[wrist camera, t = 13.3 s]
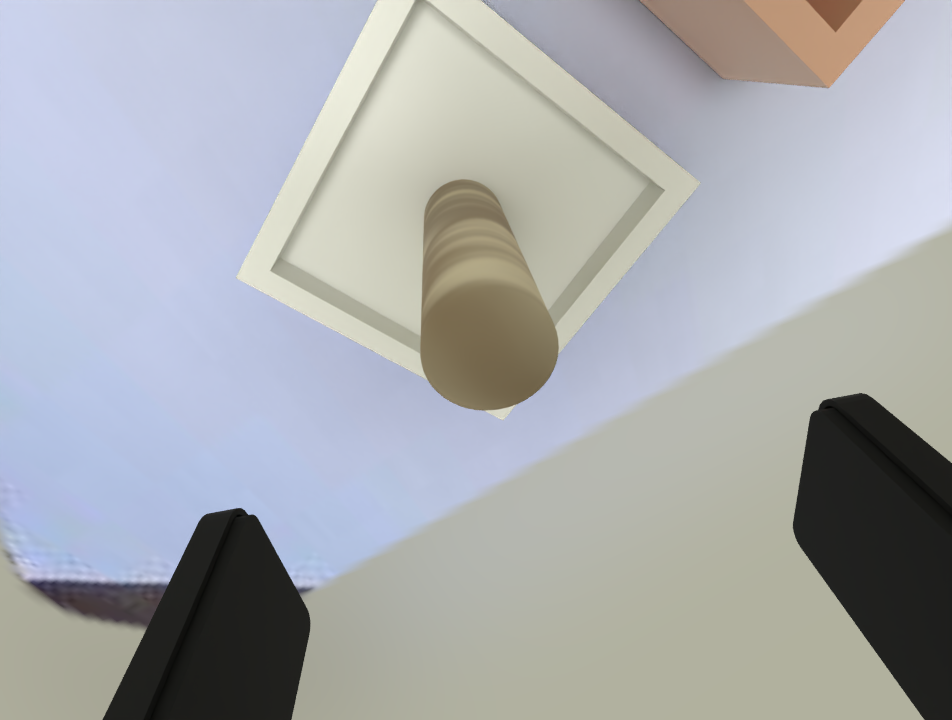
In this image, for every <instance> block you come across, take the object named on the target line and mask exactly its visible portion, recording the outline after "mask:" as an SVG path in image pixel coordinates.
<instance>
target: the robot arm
mask: <svg viewBox="0 0 952 720" xmlns="http://www.w3.org/2000/svg"><path fill="white" fill-rule="evenodd" d="M793 530H794V534H795V537H796V539H797V542H798V544H799V545H800V547H801V548H802V550H803V551H804V553H805V554H806V555H807V556H808V558H809V560H810V561H811V562H812V563H813V565H814V567H815V568H816V569H817V571H818V572H819V574H820V575H821V576H822V578H823V579H824V580H825V582H826V583H827V585H828V586H829V587H830V589H831V590H832V592H833V593H834V594H835V596H836V597H837V599H838V600H839V601H840V603H841V604H842V605H843V607H844V608H845V610H846V611H847V613H848V614H849V615H850V617H851V618H852V619H853V621H854V622H855V624H856V625H857V626H858V628H859V629H860V631H861V632H862V633H863V635H864V636H865V638H866V639H867V640H868V642H869V643H870V645H871V646H872V647H873V649H874V650H875V652H876V653H877V654H878V656H879V657H880V658H881V660H882V661H883V663H884V664H885V665H886V667H887V668H888V670H889V671H890V672H891V674H892V675H893V677H894V678H895V679H896V681H897V682H898V683H899V685H900V686H901V688H902V689H903V690H904V692H905V693H906V695H907V696H908V697H909V699H910V700H911V702H912V703H913V704H914V706H915V707H916V708H917V710H918V711H919V713H920V714H921V716H922V717H923V718H924V719H925V720H952V463H951V462H950V461H948V460H947V459H946V458H945V457H943V456H942V455H941V454H940V453H939V452H937V451H936V450H935V449H934V448H932V447H931V446H930V445H929V444H928V443H926V442H925V441H924V440H923V439H922V438H920V437H919V436H918V435H917V434H916V433H914V432H913V431H912V430H911V429H910V428H908V427H907V426H906V425H904V424H903V423H902V422H901V421H900V420H899V419H897V418H896V417H895V416H893V414H891V413H890V412H889V411H888V410H886V409H885V408H884V407H883V406H882V405H880V404H879V403H878V402H877V401H876V400H874V399H873V398H872V397H870V396H868V395H867V394H862V393H859V394H854V395H848V396H843V397H838V398H832V399H827V400H824V401H823V402H822V403H821V404H820V406H819V409H818V410H817V411H814V412H813V413H812V414H811V417H810V421H809V427H808V434H807V440H806V447H805V452H804V458H803V465H802V471H801V478H800V483H799V490H798V496H797V502H796V509H795V514H794V521H793ZM309 633H310V617H309V613H308V610H307V608H306V606H305V604H304V602H303V600H302V598H301V597H300V595H299V593H298V591H297V589H296V587H295V586H294V584H293V582H292V580H291V578H290V577H289V575H288V573H287V571H286V569H285V567H284V566H283V564H282V562H281V560H280V558H279V556H278V555H277V553H276V551H275V549H274V547H273V545H272V544H271V542H270V540H269V538H268V536H267V534H266V533H265V531H264V529H263V527H262V525H261V523H260V522H259V520H258V518H257V517H256V516H255V515H248V514H247V513H246V512H245V510H243V509H241V508H236V509H231V510H226V511H220V512H215V513H209V514H206V515H204V516H203V517H202V518H201V520H200V521H199V523H198V525H197V527H196V529H195V531H194V533H193V535H192V537H191V539H190V541H189V543H188V545H187V548H186V550H185V552H184V554H183V556H182V558H181V560H180V562H179V564H178V566H177V568H176V570H175V572H174V574H173V576H172V578H171V580H170V582H169V585H168V587H167V589H166V591H165V593H164V595H163V597H162V599H161V601H160V603H159V605H158V607H157V609H156V611H155V613H154V615H153V617H152V619H151V621H150V624H149V626H148V628H147V630H146V632H145V634H144V636H143V638H142V640H141V642H140V644H139V646H138V648H137V650H136V652H135V654H134V657H133V658H132V661H131V663H130V665H129V667H128V669H127V671H126V673H125V675H124V677H123V679H122V681H121V683H120V685H119V687H118V689H117V691H116V694H115V695H114V698H113V700H112V702H111V704H110V706H109V708H108V710H107V712H106V714H105V716H104V718H103V720H291V719H292V714H293V709H294V705H295V700H296V694H297V690H298V685H299V680H300V676H301V671H302V666H303V661H304V657H305V652H306V647H307V643H308V638H309Z"/></svg>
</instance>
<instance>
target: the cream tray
mask: <svg viewBox="0 0 952 720" xmlns="http://www.w3.org/2000/svg"><path fill="white" fill-rule="evenodd" d="M461 179H467V180H473V181H476V182H479V183H481V184H483V185H485V186H486V187H487V188H489V189H490V190H491V191H492V192H493V193H494V195H495V196H496V197H497V199H498V201H499V203H500V205H501V207H502V210H503V212H504V214H505V216H506V219H507V221H508V223H509V225H510V227H511V230H512V232H513V234H514V236H515V239H516V241H517V243H518V245H519V248H520V250H521V252H522V254H523V256H524V259H525V261H526V263H527V265H528V268H529V270H530V272H531V274H532V276H533V279H534V281H535V283H536V285H537V288H538V290H539V292H540V294H541V296H542V299H543V301H544V303H545V305H546V308H547V310H548V312H549V314H550V317H551V319H552V321H553V323H554V326H555V328H556V331H557V335H558V343H559V350H558V354H559V353H560V352H561V350H562V349H563V348H564V347H565V346H566V344H567V343H568V342H569V341H570V340H571V338H572V337H573V336H574V335H575V334H576V332H577V331H578V330H579V329H580V328H581V326H582V325H583V324H584V323H585V322H586V320H587V319H588V318H589V317H590V316H591V314H592V313H593V312H594V311H595V310H596V308H597V307H598V306H599V305H600V304H601V302H602V301H603V300H604V299H605V297H606V296H607V295H608V294H609V293H610V291H611V290H612V289H613V288H614V287H615V285H616V284H617V283H618V282H619V281H620V279H621V278H622V277H623V276H624V275H625V273H626V272H627V271H628V270H629V269H630V267H631V266H632V265H633V264H634V263H635V261H636V260H637V259H638V258H639V257H640V255H641V254H642V253H643V252H644V251H645V249H646V248H647V247H648V246H649V245H650V243H651V242H652V241H653V240H654V239H655V237H656V236H657V235H658V234H659V233H660V231H661V230H662V229H663V228H664V227H665V225H666V224H667V223H668V222H669V221H670V219H671V218H672V217H673V216H674V215H675V213H676V212H677V211H678V210H679V209H680V207H681V206H682V205H683V204H684V203H685V201H686V200H687V199H688V198H689V197H690V195H691V194H692V193H693V192H694V191H695V189H696V188H697V187H698V186H699V185H700V182H699V181H698V180H696V179H695V178H694V177H693V176H692V175H690V174H689V173H688V172H687V171H686V170H684V169H683V168H682V167H681V166H680V165H678V164H677V163H676V162H675V161H674V160H672V159H671V158H670V157H669V156H668V155H666V154H665V153H664V152H663V151H661V150H660V149H659V148H658V147H657V146H655V145H654V144H653V143H652V142H651V141H649V140H648V139H647V138H646V137H645V136H643V135H642V134H641V133H640V132H639V131H637V130H636V129H635V128H634V127H633V126H631V125H630V124H629V123H628V122H627V121H625V120H624V119H623V118H622V117H621V116H619V115H618V114H617V113H616V112H614V111H613V110H612V109H611V108H610V107H608V106H607V105H606V104H605V103H604V102H602V101H601V100H600V99H599V98H598V97H596V96H595V95H594V94H593V93H592V92H590V91H589V90H588V89H587V88H586V87H584V86H583V85H582V84H581V83H580V82H578V81H577V80H576V79H575V78H574V77H572V76H571V75H570V74H569V73H568V72H566V71H565V70H564V69H563V68H561V67H560V66H559V65H558V64H557V63H555V62H554V61H553V60H552V59H551V58H549V57H548V56H547V55H546V54H545V53H543V52H542V51H541V50H540V49H539V48H537V47H536V46H535V45H534V44H533V43H531V42H530V41H529V40H528V39H527V38H525V37H524V36H523V35H522V34H521V33H519V32H518V31H517V30H516V29H514V28H513V27H512V26H511V25H510V24H508V23H507V22H506V21H505V20H504V19H502V18H501V17H500V16H499V15H498V14H496V13H495V12H494V11H493V10H492V9H490V8H489V7H488V6H487V5H486V4H484V3H483V2H482V1H481V0H377V2H376V4H375V6H374V8H373V10H372V12H371V14H370V16H369V18H368V20H367V22H366V24H365V26H364V28H363V30H362V32H361V34H360V36H359V38H358V40H357V42H356V44H355V46H354V47H353V49H352V51H351V53H350V55H349V57H348V59H347V61H346V63H345V65H344V67H343V69H342V71H341V73H340V75H339V77H338V79H337V81H336V83H335V85H334V87H333V89H332V91H331V93H330V94H329V96H328V98H327V100H326V102H325V104H324V106H323V108H322V110H321V112H320V114H319V116H318V118H317V120H316V122H315V124H314V126H313V128H312V130H311V132H310V134H309V136H308V138H307V139H306V141H305V143H304V145H303V147H302V149H301V151H300V153H299V155H298V157H297V159H296V161H295V163H294V165H293V167H292V169H291V171H290V173H289V175H288V177H287V179H286V181H285V183H284V185H283V186H282V188H281V190H280V192H279V194H278V196H277V198H276V200H275V202H274V204H273V206H272V208H271V210H270V212H269V214H268V216H267V218H266V220H265V222H264V224H263V226H262V228H261V230H260V232H259V233H258V235H257V237H256V239H255V241H254V243H253V245H252V247H251V249H250V251H249V253H248V255H247V257H246V259H245V261H244V263H243V265H242V267H241V269H240V271H239V273H238V275H237V277H236V278H237V279H239V280H241V281H242V282H244V283H246V284H248V285H250V286H252V287H254V288H255V289H257V290H259V291H261V292H263V293H265V294H267V295H269V296H270V297H272V298H274V299H276V300H278V301H280V302H282V303H284V304H285V305H287V306H289V307H291V308H293V309H295V310H297V311H299V312H300V313H302V314H304V315H306V316H308V317H310V318H312V319H314V320H315V321H317V322H319V323H321V324H323V325H325V326H327V327H329V328H330V329H332V330H334V331H336V332H338V333H340V334H342V335H344V336H345V337H347V338H349V339H351V340H353V341H355V342H357V343H359V344H360V345H362V346H364V347H366V348H368V349H370V350H372V351H374V352H375V353H377V354H379V355H381V356H383V357H385V358H387V359H389V360H390V361H392V362H394V363H396V364H398V365H400V366H402V367H404V368H405V369H407V370H409V371H411V372H413V373H415V374H417V375H419V376H420V377H422V378H424V379H426V380H428V379H427V377H426V376H425V374H424V371H423V368H422V364H421V357H420V342H421V306H422V270H423V234H424V212H425V208H426V205H427V203H428V201H429V199H430V197H431V196H432V195H433V193H434V192H435V191H436V190H437V189H438V188H440V187H441V186H443V185H444V184H446V183H448V182H451V181H455V180H461ZM515 406H516V405H513V406H510V407H507V408H503V409H498V410H484V411H486V412H488V413H490V414H492V415H494V416H495V417H497V418H499V419H501V420H504V419H505V418H506V416H507V415H508V414H509V413H510V412H511V410H512V409H513V408H514V407H515Z"/></svg>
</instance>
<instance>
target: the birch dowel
mask: <svg viewBox="0 0 952 720" xmlns="http://www.w3.org/2000/svg"><path fill="white" fill-rule="evenodd" d="M558 350H559V343H558V335H557V331H556V328H555V326H554V323H553V321H552V319H551V317H550V314H549V312H548V310H547V308H546V305H545V303H544V301H543V299H542V296H541V294H540V292H539V290H538V288H537V285H536V283H535V281H534V279H533V276H532V274H531V272H530V270H529V268H528V265H527V263H526V261H525V259H524V256H523V254H522V252H521V250H520V248H519V245H518V243H517V241H516V239H515V236H514V234H513V232H512V230H511V227H510V225H509V223H508V221H507V219H506V216H505V214H504V212H503V210H502V207H501V205H500V203H499V201H498V199H497V197H496V196H495V195H494V193H493V192H492V191H491V190H490V189H489V188H487V187H486V186H485V185H483V184H481V183H479V182H476V181H473V180H467V179H461V180H455V181H451V182H448V183H446V184H444V185H443V186H441V187H440V188H438V189H437V190H436V191H435V192H434V193H433V195H432V196H431V197H430V199H429V201H428V203H427V205H426V208H425V212H424V234H423V270H422V306H421V342H420V357H421V364H422V368H423V371H424V374H425V376H426V377H427V379H428V381H429V383H430V384H431V385H432V387H433V388H434V389H435V390H436V391H437V392H438V393H439V394H440V395H441V396H443V397H444V398H445V399H447V400H449V401H450V402H452V403H454V404H457V405H459V406H462V407H465V408H469V409H474V410H498V409H503V408H507V407H510V406H513V405H516V404H518V403H520V402H522V401H524V400H526V399H527V398H529V397H531V396H532V395H533V394H535V393H536V392H537V391H538V390H539V389H540V388H541V387H542V386H543V385H544V384H545V383H546V381H547V380H548V379H549V377H550V375H551V373H552V372H553V370H554V367H555V365H556V361H557V357H558Z"/></svg>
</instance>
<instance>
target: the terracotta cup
mask: <svg viewBox="0 0 952 720" xmlns="http://www.w3.org/2000/svg"><path fill="white" fill-rule="evenodd" d="M639 1H640V2H641V3H643V4H644V5H645V6H646V7H647V8H648V9H649V10H650V11H651V12H652V13H653V14H654V15H655V16H656V17H657V18H659V19H660V20H661V21H662V22H663V23H664V24H665V25H666V26H667V27H668V28H669V29H670V30H671V31H672V32H673V33H675V34H676V35H677V36H678V37H679V38H680V39H681V40H682V41H683V42H684V43H685V44H686V45H687V46H688V47H689V48H691V49H692V50H693V51H694V52H695V53H696V54H697V55H698V56H699V57H700V58H701V59H702V60H703V61H704V62H705V63H707V64H708V65H709V66H710V67H711V68H712V69H713V70H714V71H715V72H716V73H717V74H718V75H719V76H720V77H721V78H723V79H729V80H741V81H752V82H764V83H776V84H787V85H799V86H811V87H822V88H829V87H830V86H831V85H832V84H833V83H834V82H835V81H836V79H837V78H838V77H839V76H840V75H841V74H842V72H843V71H844V70H845V69H846V68H847V67H848V66H849V64H850V63H851V62H852V61H853V60H854V59H855V57H856V56H857V55H858V54H859V53H860V52H861V51H862V49H863V48H864V47H865V46H866V45H867V44H868V43H869V41H870V40H871V39H872V38H873V37H874V36H875V34H876V33H877V32H878V31H879V30H880V29H881V28H882V26H883V25H884V24H885V23H886V22H887V21H888V19H889V18H890V17H891V16H892V15H893V14H894V13H895V11H896V10H897V9H898V8H899V7H900V6H901V4H902V3H903V2H904V1H905V0H639Z"/></svg>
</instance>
